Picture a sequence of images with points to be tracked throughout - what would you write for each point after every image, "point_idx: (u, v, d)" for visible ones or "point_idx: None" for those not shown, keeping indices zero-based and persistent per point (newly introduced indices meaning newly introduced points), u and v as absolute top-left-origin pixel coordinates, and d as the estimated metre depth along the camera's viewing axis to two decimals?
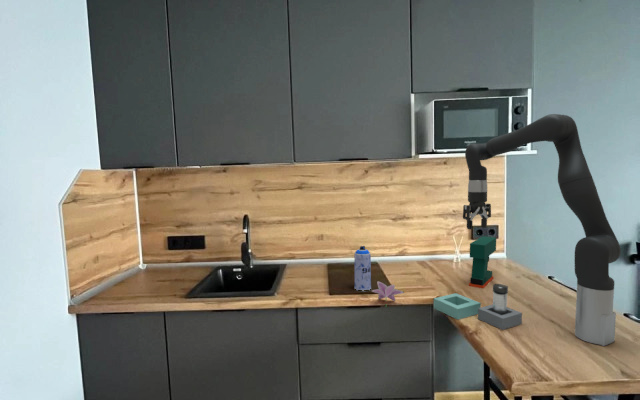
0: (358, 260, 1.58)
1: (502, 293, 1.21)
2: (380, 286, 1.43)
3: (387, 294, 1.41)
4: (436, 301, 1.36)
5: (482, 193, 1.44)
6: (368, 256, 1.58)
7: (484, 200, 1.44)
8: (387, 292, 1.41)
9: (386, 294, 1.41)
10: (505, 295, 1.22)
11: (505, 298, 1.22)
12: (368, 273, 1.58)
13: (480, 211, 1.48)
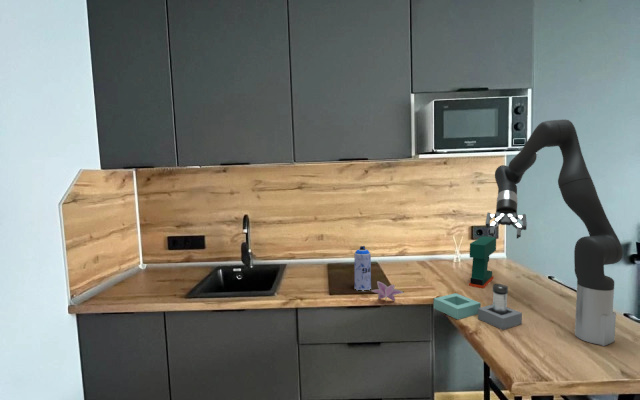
0: (358, 260, 1.58)
1: (502, 293, 1.21)
2: (380, 286, 1.43)
3: (387, 294, 1.42)
4: (436, 301, 1.36)
5: (503, 200, 1.40)
6: (368, 256, 1.58)
7: (505, 205, 1.38)
8: (387, 292, 1.41)
9: (386, 294, 1.42)
10: (505, 295, 1.22)
11: (505, 298, 1.22)
12: (368, 273, 1.58)
13: (507, 219, 1.37)
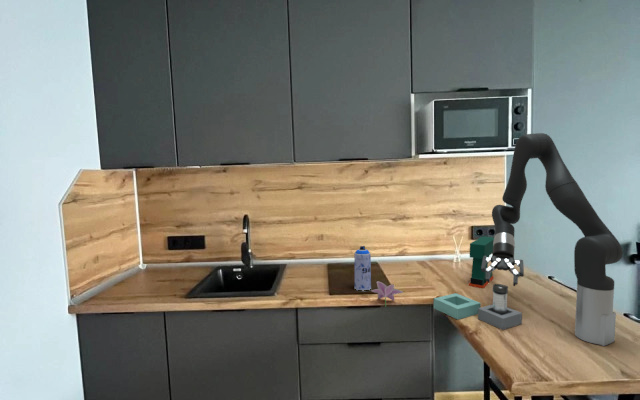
0: (358, 260, 1.58)
1: (502, 293, 1.21)
2: (379, 286, 1.43)
3: (386, 294, 1.42)
4: (436, 301, 1.36)
5: (499, 243, 1.35)
6: (368, 256, 1.58)
7: (502, 249, 1.33)
8: (386, 292, 1.42)
9: (385, 294, 1.42)
10: (505, 295, 1.22)
11: (505, 298, 1.22)
12: (368, 273, 1.58)
13: (504, 264, 1.32)
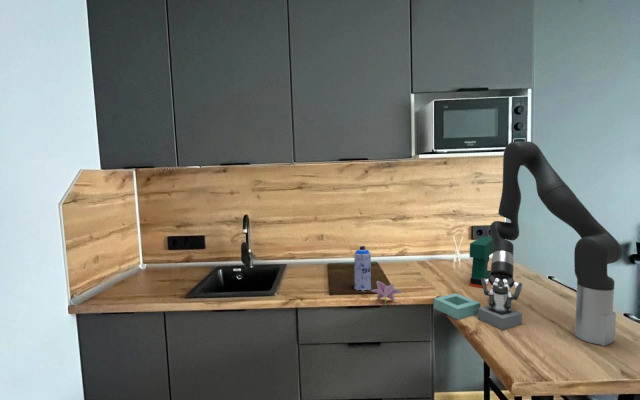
0: (358, 260, 1.58)
1: (502, 293, 1.21)
2: (379, 286, 1.43)
3: (386, 293, 1.42)
4: (436, 301, 1.36)
5: (498, 262, 1.29)
6: (368, 256, 1.58)
7: (501, 269, 1.27)
8: (386, 291, 1.42)
9: (385, 293, 1.42)
10: (505, 295, 1.22)
11: (505, 298, 1.22)
12: (368, 273, 1.58)
13: None
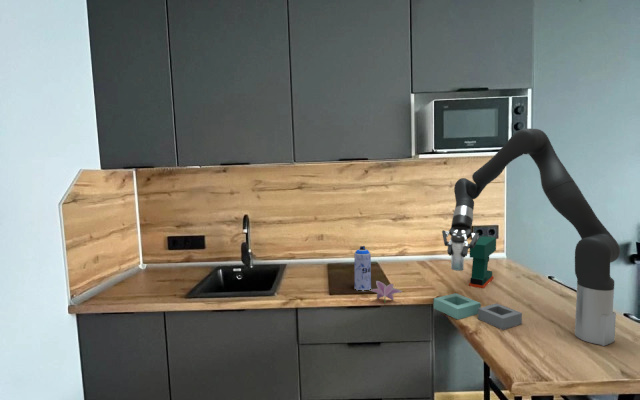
0: (358, 260, 1.58)
1: (459, 241, 1.30)
2: (379, 286, 1.43)
3: (386, 293, 1.42)
4: (436, 301, 1.36)
5: (458, 215, 1.38)
6: (368, 256, 1.58)
7: (460, 221, 1.36)
8: (386, 291, 1.42)
9: (385, 293, 1.42)
10: (462, 243, 1.30)
11: (462, 246, 1.30)
12: (368, 273, 1.58)
13: None
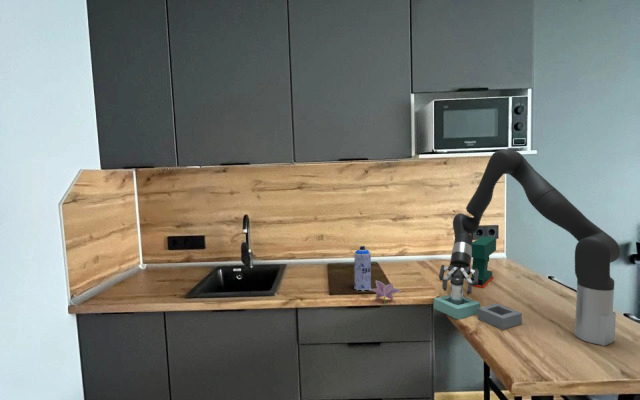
0: (358, 260, 1.58)
1: (458, 284, 1.31)
2: (378, 285, 1.44)
3: (385, 293, 1.43)
4: (436, 301, 1.36)
5: (457, 252, 1.39)
6: (368, 256, 1.58)
7: (458, 259, 1.37)
8: (385, 291, 1.43)
9: (384, 293, 1.43)
10: (461, 286, 1.32)
11: (461, 289, 1.32)
12: (368, 273, 1.58)
13: (460, 273, 1.36)
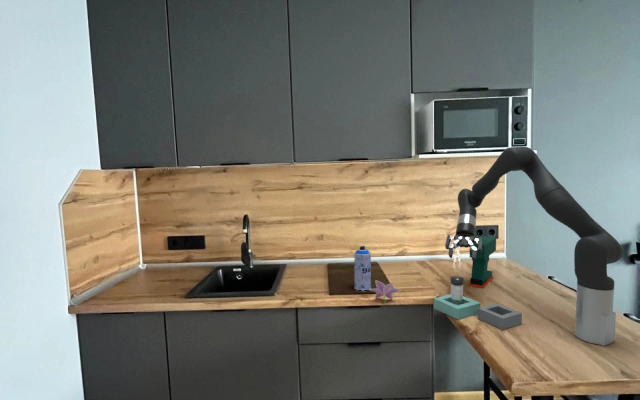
0: (358, 260, 1.58)
1: (458, 284, 1.31)
2: (378, 285, 1.44)
3: (385, 293, 1.43)
4: (436, 301, 1.36)
5: (462, 223, 1.50)
6: (368, 256, 1.58)
7: (463, 229, 1.47)
8: (385, 291, 1.43)
9: (384, 293, 1.43)
10: (461, 286, 1.32)
11: (461, 289, 1.32)
12: (368, 273, 1.58)
13: (465, 242, 1.46)
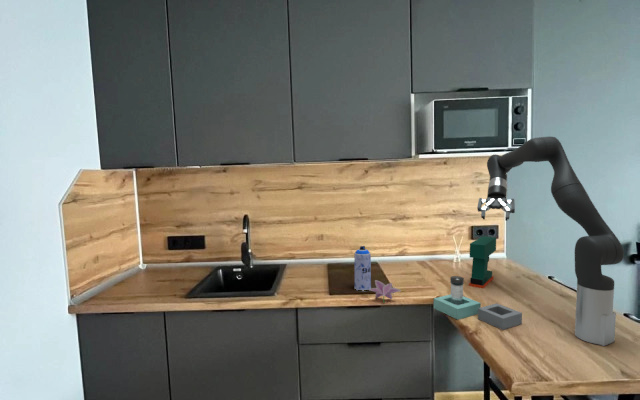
0: (358, 260, 1.58)
1: (458, 284, 1.31)
2: (377, 285, 1.44)
3: (385, 292, 1.43)
4: (436, 301, 1.36)
5: (493, 186, 1.52)
6: (368, 256, 1.58)
7: (496, 191, 1.50)
8: (385, 290, 1.43)
9: (384, 292, 1.43)
10: (461, 286, 1.32)
11: (461, 289, 1.32)
12: (368, 273, 1.58)
13: (497, 203, 1.48)
